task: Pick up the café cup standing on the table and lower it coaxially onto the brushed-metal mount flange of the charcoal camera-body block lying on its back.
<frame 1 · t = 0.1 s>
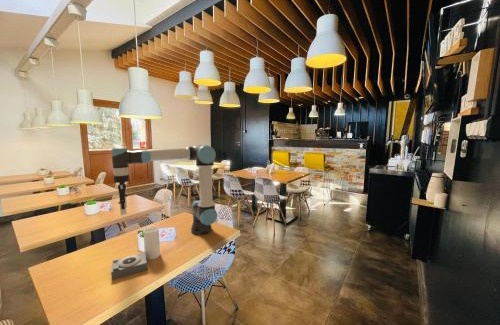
hand: (123, 211, 126), 28 cm above the table, fingers open, 13 cm apart
camera body: (130, 268, 117), on the table
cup: (152, 256, 129), on the table
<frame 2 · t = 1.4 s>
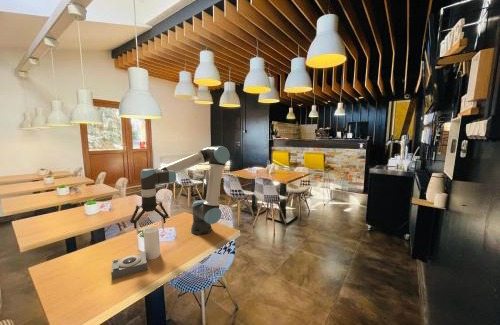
hand: (150, 231, 128), 15 cm above the table, fingers open, 13 cm apart
nothing on the table moved.
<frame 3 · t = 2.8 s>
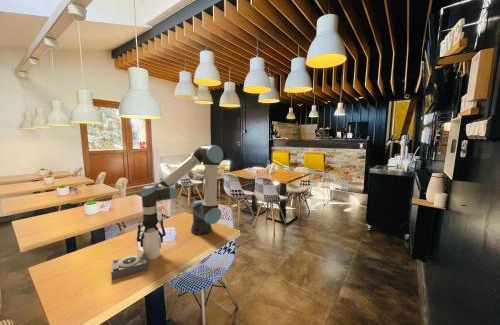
hand: (152, 249, 129), 4 cm above the table, fingers closed on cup, 8 cm apart
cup: (152, 256, 129), on the table, touching gripper
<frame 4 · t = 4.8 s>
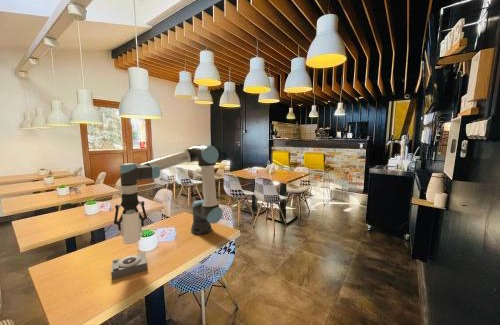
hand: (131, 233, 117), 18 cm above the table, fingers closed on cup, 8 cm apart
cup: (132, 240, 117), point 14 cm above the table, touching gripper
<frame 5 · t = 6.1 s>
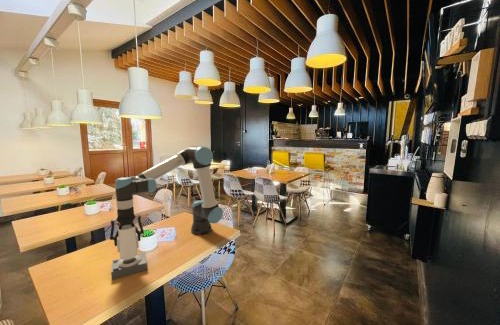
hand: (128, 248, 115), 11 cm above the table, fingers closed on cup, 8 cm apart
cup: (128, 255, 116), point 7 cm above the table, touching gripper
when the fingers open (10 cm above the table, at t = 6.8 s): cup drops 1 cm, resting on camera body.
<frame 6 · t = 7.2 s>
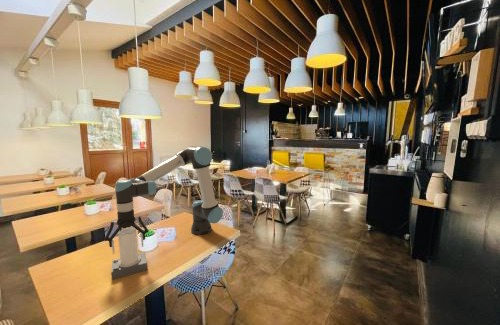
hand: (128, 248, 115), 11 cm above the table, fingers open, 13 cm apart
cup: (129, 260, 116), point 4 cm above the table, touching camera body
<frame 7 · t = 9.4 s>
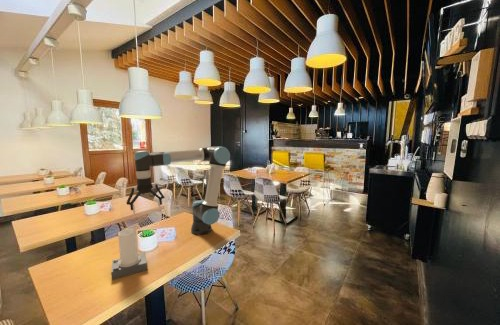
hand: (147, 212, 129), 26 cm above the table, fingers open, 13 cm apart
nothing on the table moved.
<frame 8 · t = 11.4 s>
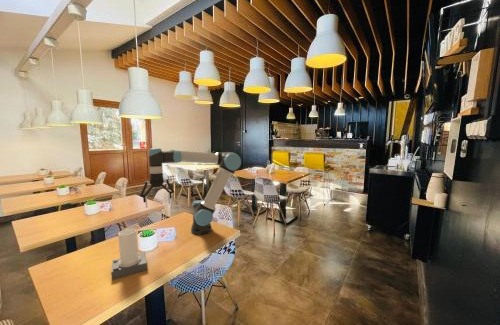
hand: (158, 205, 140), 27 cm above the table, fingers open, 13 cm apart
nothing on the table moved.
at the end: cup 0.0 cm from the camera body (horizontally); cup tilted 0°; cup touching camera body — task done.
